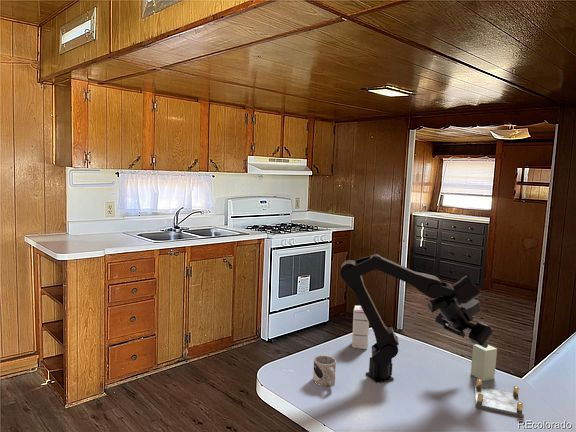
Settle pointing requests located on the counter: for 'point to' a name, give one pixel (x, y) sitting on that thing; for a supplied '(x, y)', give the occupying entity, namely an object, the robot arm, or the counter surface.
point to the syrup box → (360, 329)
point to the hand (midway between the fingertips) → (475, 341)
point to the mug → (324, 370)
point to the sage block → (483, 362)
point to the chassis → (498, 400)
